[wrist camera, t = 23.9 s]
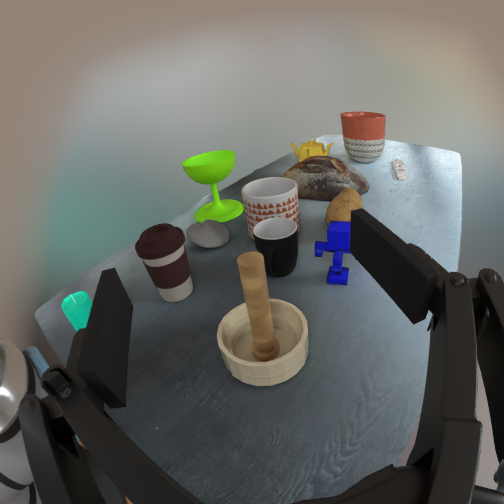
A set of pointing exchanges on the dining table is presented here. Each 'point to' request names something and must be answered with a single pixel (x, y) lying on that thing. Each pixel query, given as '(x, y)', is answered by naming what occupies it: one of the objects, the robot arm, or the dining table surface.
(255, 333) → the wooden pestle
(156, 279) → the coffee cup
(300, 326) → the bowl
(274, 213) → the white patterned cup
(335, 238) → the figurine
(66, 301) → the candle
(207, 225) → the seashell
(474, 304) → the robot arm
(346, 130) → the planter
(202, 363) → the dining table surface
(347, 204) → the potato
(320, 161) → the bread
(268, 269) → the mug
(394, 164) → the white lumpy piece
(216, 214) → the wineglass
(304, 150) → the teapot
